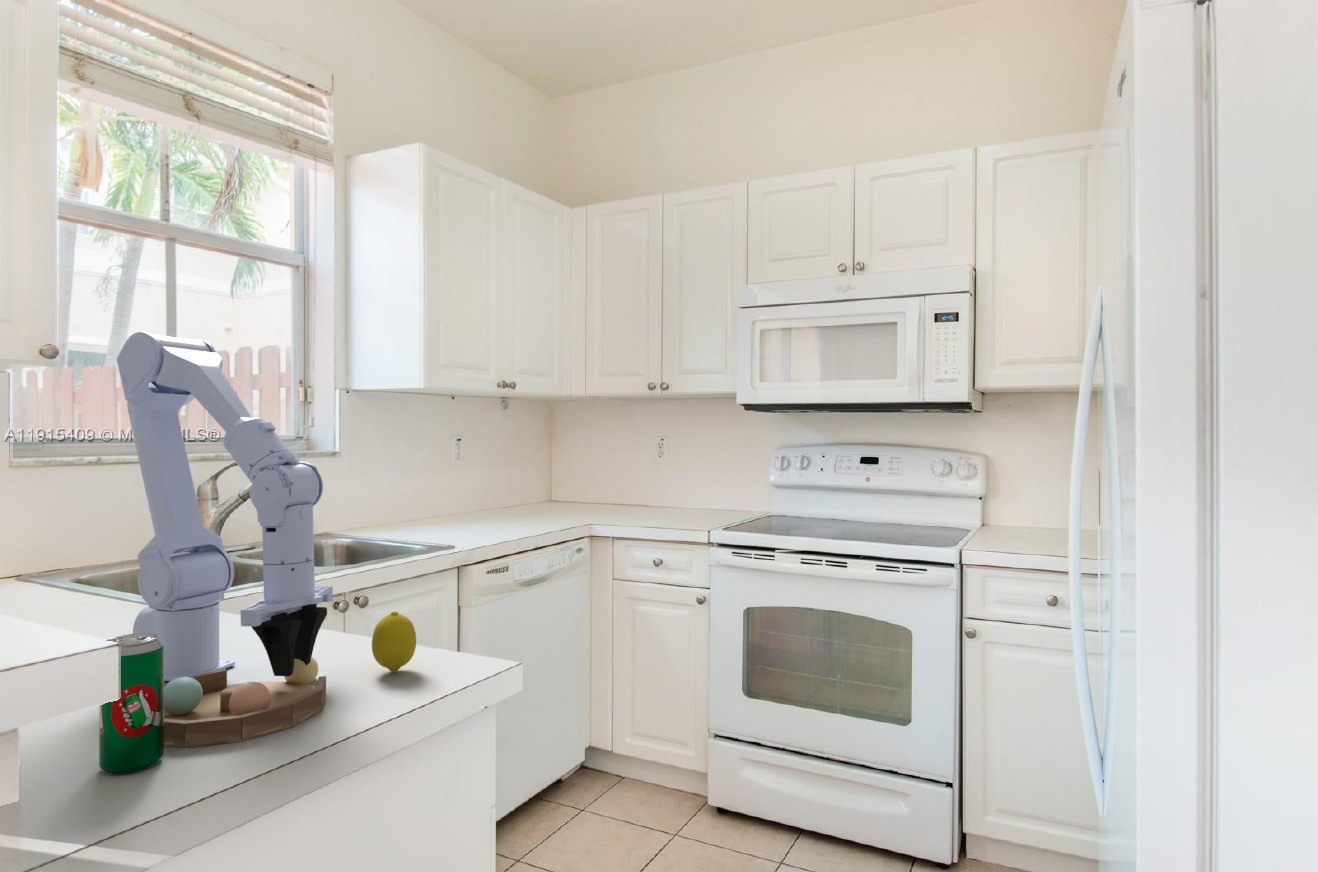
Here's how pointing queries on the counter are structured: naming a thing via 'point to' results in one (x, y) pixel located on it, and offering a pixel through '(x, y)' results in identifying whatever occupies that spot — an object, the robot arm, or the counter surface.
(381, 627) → the lemon
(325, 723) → the counter surface
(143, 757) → the soda can
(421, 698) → the counter surface
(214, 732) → the groove tray
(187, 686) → the bead teal
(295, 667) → the pale yellow ball
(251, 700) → the bead terracotta
